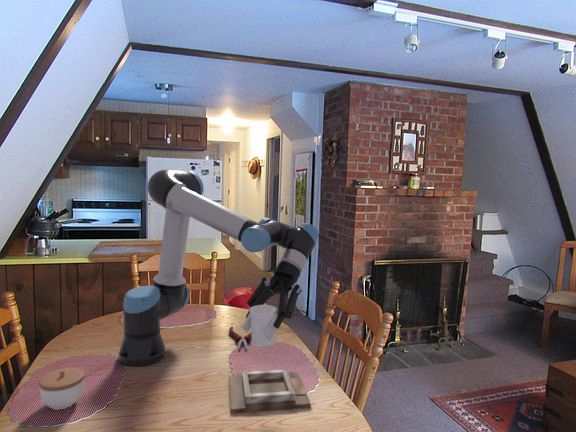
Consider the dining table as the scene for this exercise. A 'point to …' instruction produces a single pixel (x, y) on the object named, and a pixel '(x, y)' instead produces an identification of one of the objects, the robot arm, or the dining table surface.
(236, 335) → the pliers
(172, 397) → the dining table surface
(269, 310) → the white cup
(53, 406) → the lidded jar
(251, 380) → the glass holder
